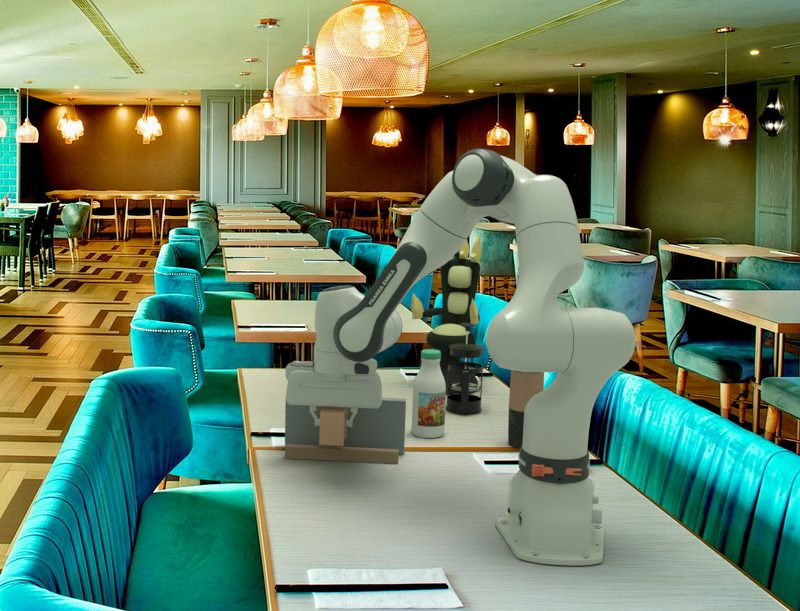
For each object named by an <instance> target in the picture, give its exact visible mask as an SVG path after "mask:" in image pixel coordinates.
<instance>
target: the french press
mask: <svg viewBox="0 0 800 611" xmlns="http://www.w3.org/2000/svg"><path fill="white" fill-rule="evenodd" d="M459 325H461V326H465V331H466V344H452V345H449V348H450V349H451V353H450V354H451V355H452V356H455V357H461V359H462V358H463V359H464V361H462V362H452V363H449V364H448V383H447V394H446V405H445V412H448V413H451V414H453V415H460V416H461V415H462V416H473V415H478V414H480V413H482V411H483V409H482V397H483V396H482V392H483V372H484V366H483V364H482V363H478V362H472V361H467V359H475V358H480V357H482V356H483V354H482V353H483V351H484V349H485V347H484V346H483V345H479V344H476V343H475V344H467V339H468V331H469V326H471V327H476V324H473V323H460V324H459ZM455 367H462V368H455ZM468 368H469V369H468ZM449 371H451V372H454V373H460V374H461V383H452V384H449ZM470 374H474V375H477V374H480V385H479V384H478V385H477V384H472V383H469V375H470ZM448 384H449V385H448ZM448 386H449V389H451V390H454V391H458V392H461V393H460V394H448ZM479 391H480V396H478V395H475V394H470V393H474V392H479Z"/></svg>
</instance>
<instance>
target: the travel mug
mask: <svg viewBox="0 0 800 611" xmlns="http://www.w3.org/2000/svg"><path fill="white" fill-rule="evenodd" d="M509 382H510V384H509V398H508V420H507V422H508V426H507V428H508V429H507V430H508V431H507V433H508V434H507V444H508V446H509V447H512V448H515V449H519V448H520V447H521V446H522V445H523V427H524V410H525V407H526V405H527V403H528V401H529V400H530V399H531V398H532V397H533V396H534V395H536V394H537V393H539V392H541V391H543V390H545V385H544V384H545V372H520V371H515V370H510V380H509Z"/></svg>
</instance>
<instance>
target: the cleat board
mask: <svg viewBox="0 0 800 611" xmlns="http://www.w3.org/2000/svg"><path fill="white" fill-rule="evenodd" d="M284 406H285V410H284V411H285V412H284V413H285V416H284V418H285V419H284V421H285V422H284V423H285V424H284V459H288V460H289V459H290V460H291V459H292V460H293V459H294V460H310V461H311V460H312V461H335V462H336V461H337V462H356V463H373V464H374V463H375V464H376V463H379V464H399V456H405V445H406V444H405V443H406V442H405V441H406V439H405V437H406V414H407V413H406V412H407V398H403V397H402V398H397V397H382V404H381V406H380V407H379V408H377V409H373V408H358V412H357V414H356V416H355V417H354V419H353V425H352V428H347V437H346V438H344V445H343V446H334V445H319V437H320V427H319V426H315V419H314V418H313V416H312V414H311V412H310V406H304V405H289V404H288V403H287V401H286V400H285V405H284ZM322 407H323V406H317V410H316V412H317V414H318V416H319V417H320V411H321V409H322ZM351 415H352V412H351V408H350V407H347V418H350V417H351Z"/></svg>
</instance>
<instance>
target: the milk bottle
mask: <svg viewBox="0 0 800 611" xmlns="http://www.w3.org/2000/svg"><path fill="white" fill-rule="evenodd" d="M440 358H441V352H440V350H438V349H434V348H432V349H423V350H421V351H420V360H421V364H420V368H419V370H418V372H417V375H416V376H415V379H414V381H413V390H412V409H411V433H412V434H413V436H416V437H418V438H424V439H434V438H435V439H436V438H441V437H442V436H443V435H444V434H445V427H446V425H445V424H446V405H447V394H446V384H445V380H444V377H443V374H442V372H441V369H440V360H441V359H440Z"/></svg>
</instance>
